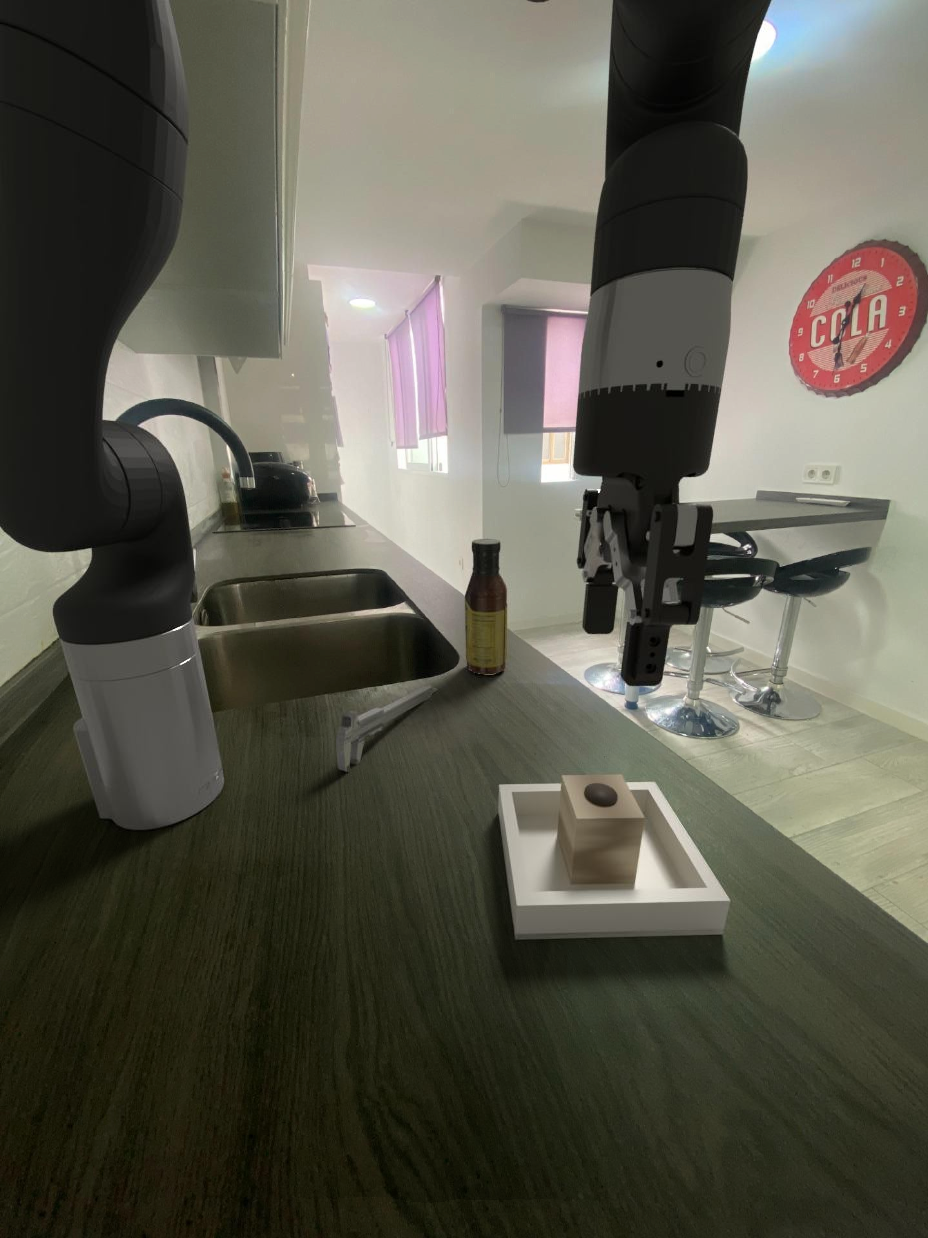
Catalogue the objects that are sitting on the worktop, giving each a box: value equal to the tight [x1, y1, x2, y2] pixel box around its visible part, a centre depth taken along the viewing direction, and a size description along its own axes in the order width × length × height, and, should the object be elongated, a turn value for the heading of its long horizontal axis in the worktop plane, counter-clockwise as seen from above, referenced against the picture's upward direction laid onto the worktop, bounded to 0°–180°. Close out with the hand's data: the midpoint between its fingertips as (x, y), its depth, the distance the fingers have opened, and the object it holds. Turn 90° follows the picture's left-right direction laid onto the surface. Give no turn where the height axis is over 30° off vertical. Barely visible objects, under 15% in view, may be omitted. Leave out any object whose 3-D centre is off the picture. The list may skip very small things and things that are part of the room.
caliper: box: [335, 685, 437, 773], centre depth 56 cm, size 20×1×6 cm, turn 156°
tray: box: [497, 781, 731, 941], centre depth 37 cm, size 14×12×3 cm
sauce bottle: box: [464, 538, 508, 674], centre depth 69 cm, size 7×6×20 cm
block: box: [557, 773, 645, 885], centre depth 36 cm, size 5×5×6 cm
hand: (616, 654), depth 31 cm, fingers open, 8 cm apart
